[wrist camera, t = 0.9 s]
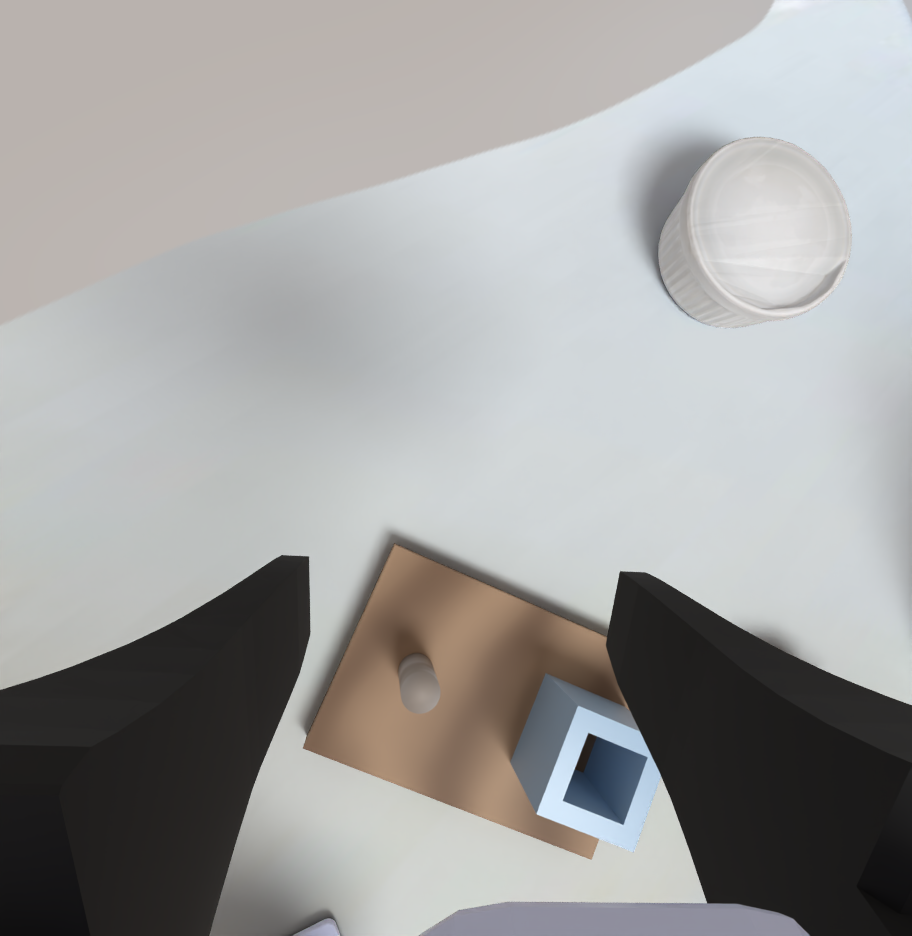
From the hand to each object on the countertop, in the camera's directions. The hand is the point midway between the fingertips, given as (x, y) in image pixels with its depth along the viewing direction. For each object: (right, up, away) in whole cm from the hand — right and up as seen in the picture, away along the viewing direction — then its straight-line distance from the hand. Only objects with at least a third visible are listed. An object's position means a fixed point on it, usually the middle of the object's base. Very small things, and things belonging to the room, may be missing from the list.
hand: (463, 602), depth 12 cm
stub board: (+2, -11, +19) cm, 22 cm away
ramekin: (+18, +17, +24) cm, 35 cm away
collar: (+6, -13, +18) cm, 23 cm away
